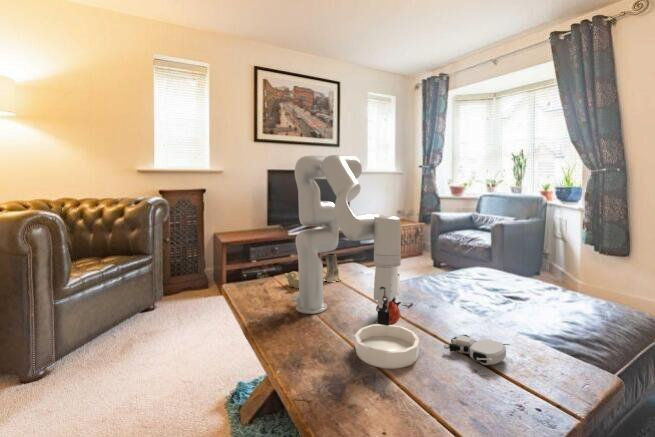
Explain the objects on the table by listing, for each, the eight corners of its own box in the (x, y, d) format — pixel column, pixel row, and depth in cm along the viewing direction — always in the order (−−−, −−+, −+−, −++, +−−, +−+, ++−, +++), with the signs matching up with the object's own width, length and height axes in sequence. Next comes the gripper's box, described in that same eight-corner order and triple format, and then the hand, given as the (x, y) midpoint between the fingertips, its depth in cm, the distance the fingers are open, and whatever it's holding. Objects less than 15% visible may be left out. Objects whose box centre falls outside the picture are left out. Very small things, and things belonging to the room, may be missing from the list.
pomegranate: (380, 337, 92) (409, 317, 91) (364, 315, 93) (393, 295, 91) (381, 328, 99) (408, 310, 98) (366, 308, 100) (393, 289, 99)
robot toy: (441, 356, 96) (494, 374, 84) (440, 341, 95) (493, 357, 84) (461, 342, 104) (512, 358, 92) (460, 328, 103) (512, 342, 92)
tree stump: (326, 283, 164) (326, 257, 162) (319, 278, 173) (319, 253, 172) (344, 281, 167) (344, 255, 166) (337, 276, 176) (337, 252, 175)
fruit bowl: (347, 360, 92) (346, 344, 92) (366, 333, 109) (366, 320, 108) (412, 374, 85) (412, 358, 84) (422, 343, 101) (422, 329, 101)
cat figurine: (294, 279, 151) (284, 266, 161) (288, 292, 153) (279, 279, 162) (309, 281, 156) (298, 268, 166) (303, 294, 157) (293, 281, 167)
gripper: (382, 252, 103) (382, 307, 105) (365, 265, 88) (365, 328, 89) (406, 254, 100) (405, 310, 102) (393, 267, 84) (393, 333, 86)
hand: (387, 318), depth 96 cm, fingers closed on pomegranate, 7 cm apart
